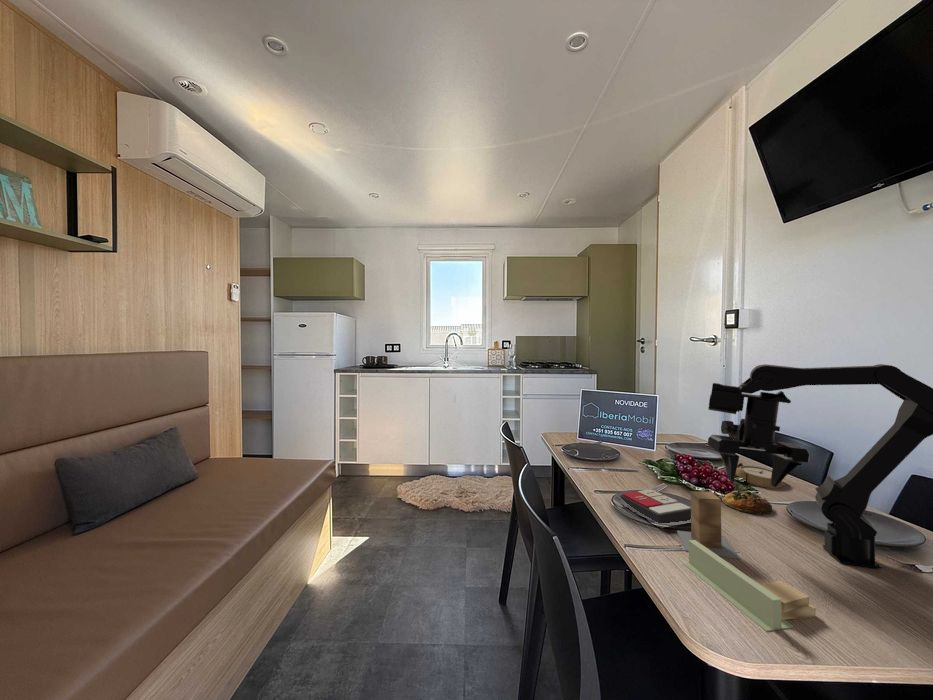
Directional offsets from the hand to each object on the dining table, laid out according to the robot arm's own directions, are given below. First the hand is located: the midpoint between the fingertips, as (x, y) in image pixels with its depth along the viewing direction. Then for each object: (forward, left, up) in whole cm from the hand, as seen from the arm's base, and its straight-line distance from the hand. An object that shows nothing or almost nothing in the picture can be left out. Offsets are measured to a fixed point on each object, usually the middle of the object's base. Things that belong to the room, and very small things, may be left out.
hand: (751, 483), depth 86 cm
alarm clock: (-14, -41, -13) cm, 45 cm away
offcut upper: (+5, +26, -11) cm, 29 cm away
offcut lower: (+5, +26, -12) cm, 29 cm away
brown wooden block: (+11, +7, -12) cm, 18 cm away
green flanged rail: (+11, +24, -13) cm, 29 cm away
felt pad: (+11, +7, -13) cm, 18 cm away
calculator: (+20, -7, -13) cm, 25 cm away
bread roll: (-5, -19, -13) cm, 23 cm away
